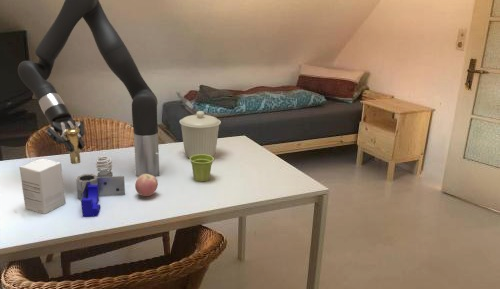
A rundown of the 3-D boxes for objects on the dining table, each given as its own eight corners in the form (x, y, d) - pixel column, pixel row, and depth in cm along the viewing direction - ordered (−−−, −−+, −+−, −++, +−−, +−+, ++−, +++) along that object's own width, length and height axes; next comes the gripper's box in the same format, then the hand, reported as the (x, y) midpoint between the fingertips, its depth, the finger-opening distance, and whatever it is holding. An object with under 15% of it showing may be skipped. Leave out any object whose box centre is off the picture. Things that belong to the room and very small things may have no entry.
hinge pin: (83, 159, 154) (80, 127, 150) (81, 164, 149) (78, 131, 146) (69, 160, 153) (66, 127, 149) (67, 165, 148) (63, 131, 145)
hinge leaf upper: (125, 190, 158) (124, 172, 156) (124, 198, 151) (123, 180, 149) (79, 192, 154) (78, 174, 152) (76, 200, 148) (75, 182, 146)
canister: (204, 147, 207) (204, 104, 201) (228, 157, 195) (229, 112, 188) (172, 154, 196) (171, 109, 189) (195, 166, 183) (195, 118, 177)
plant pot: (217, 177, 173) (218, 157, 170) (205, 185, 165) (206, 164, 162) (197, 172, 177) (197, 152, 174) (185, 180, 169) (184, 159, 166)
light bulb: (116, 184, 162) (114, 154, 158) (107, 190, 157) (105, 159, 153) (104, 182, 164) (102, 152, 160) (94, 187, 159) (92, 157, 155)
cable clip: (97, 217, 138) (96, 200, 137) (82, 217, 138) (81, 200, 136) (103, 200, 150) (102, 184, 148) (90, 201, 149) (88, 185, 147)
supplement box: (46, 198, 149) (41, 157, 145) (66, 203, 146) (62, 162, 141) (24, 208, 141) (18, 166, 137) (44, 214, 138) (39, 171, 133)
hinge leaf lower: (99, 191, 156) (98, 173, 154) (94, 211, 141) (92, 192, 139) (79, 192, 154) (78, 174, 152) (72, 213, 140) (70, 193, 138)
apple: (146, 202, 149) (145, 181, 147) (130, 196, 153) (129, 175, 150) (162, 194, 156) (161, 174, 153) (147, 189, 159) (146, 169, 157)
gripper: (37, 106, 144) (61, 149, 140) (76, 99, 154) (99, 139, 151) (31, 119, 148) (55, 160, 145) (69, 111, 159) (92, 150, 156)
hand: (77, 149), depth 148 cm, fingers closed on hinge pin, 3 cm apart
